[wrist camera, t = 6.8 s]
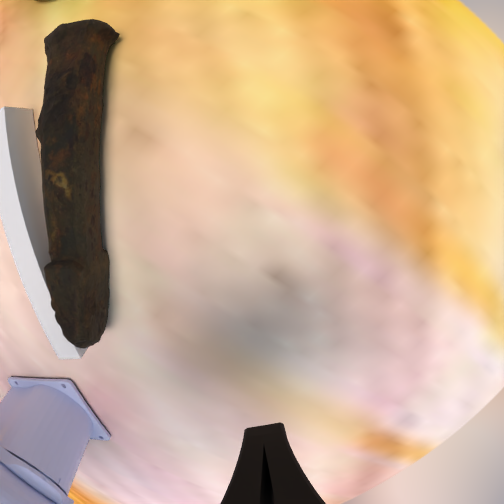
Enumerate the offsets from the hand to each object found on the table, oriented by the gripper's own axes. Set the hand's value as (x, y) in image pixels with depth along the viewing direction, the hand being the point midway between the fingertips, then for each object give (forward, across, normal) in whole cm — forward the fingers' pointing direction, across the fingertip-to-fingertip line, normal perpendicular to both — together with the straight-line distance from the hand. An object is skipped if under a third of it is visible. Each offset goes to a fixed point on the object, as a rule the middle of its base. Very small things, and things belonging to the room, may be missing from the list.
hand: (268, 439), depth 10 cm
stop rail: (+9, +12, -9) cm, 18 cm away
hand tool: (+10, +7, -10) cm, 16 cm away
